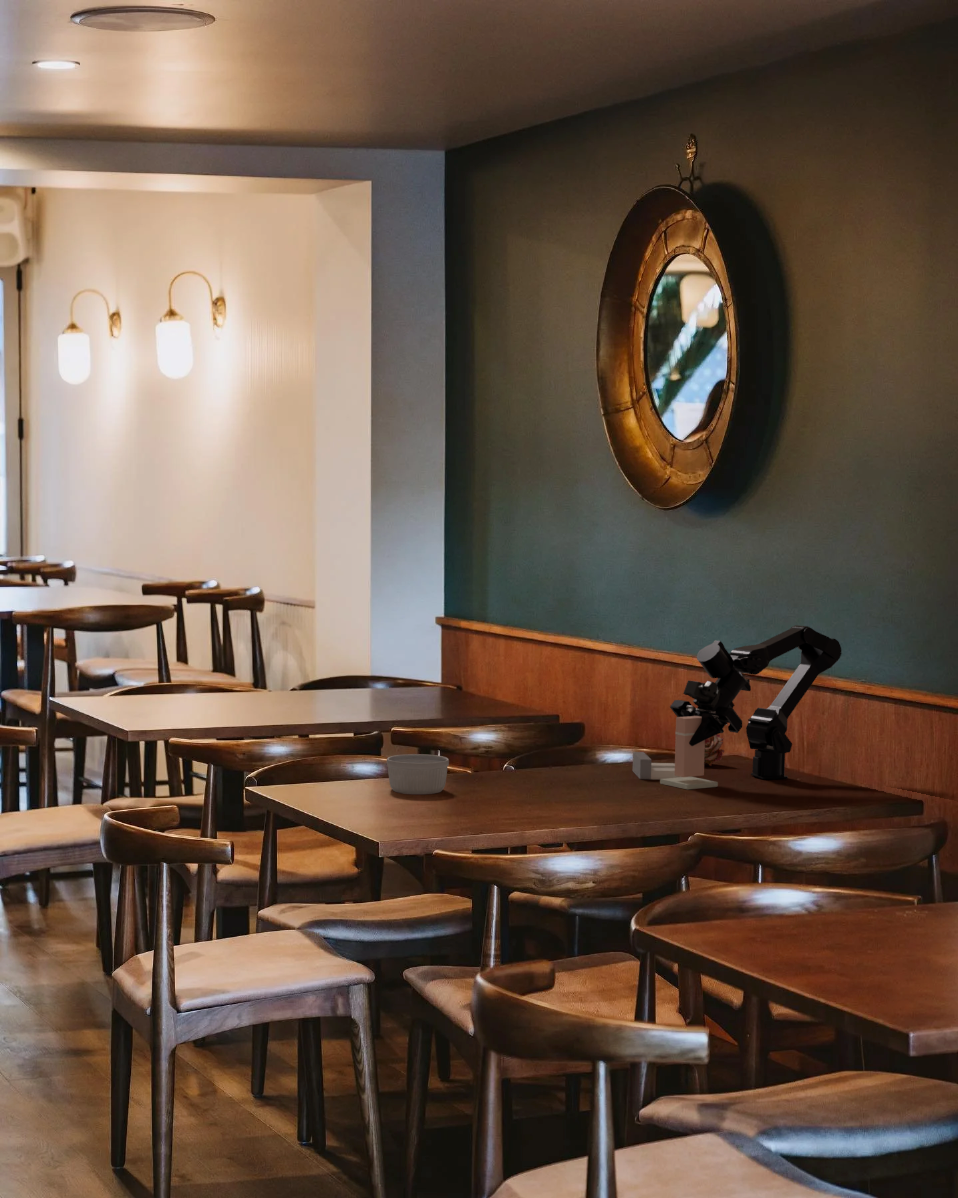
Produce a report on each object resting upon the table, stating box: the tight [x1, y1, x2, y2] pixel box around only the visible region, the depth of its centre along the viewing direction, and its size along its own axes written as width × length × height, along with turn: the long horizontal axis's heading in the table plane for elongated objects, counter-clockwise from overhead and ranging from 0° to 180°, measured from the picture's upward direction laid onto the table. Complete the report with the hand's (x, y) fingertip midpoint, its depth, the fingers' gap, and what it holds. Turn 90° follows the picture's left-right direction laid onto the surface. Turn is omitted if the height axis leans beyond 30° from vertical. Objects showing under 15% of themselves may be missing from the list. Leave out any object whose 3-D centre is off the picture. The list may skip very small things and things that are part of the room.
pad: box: [659, 776, 719, 790], centre depth 362 cm, size 9×9×1 cm
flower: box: [704, 734, 725, 767], centre depth 394 cm, size 10×9×8 cm
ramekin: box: [386, 753, 450, 795], centre depth 345 cm, size 13×13×7 cm
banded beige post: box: [674, 716, 705, 777], centre depth 361 cm, size 6×3×13 cm, turn 124°
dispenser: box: [632, 751, 680, 780], centre depth 375 cm, size 12×12×4 cm
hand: (685, 743), depth 360 cm, fingers closed on banded beige post, 3 cm apart
